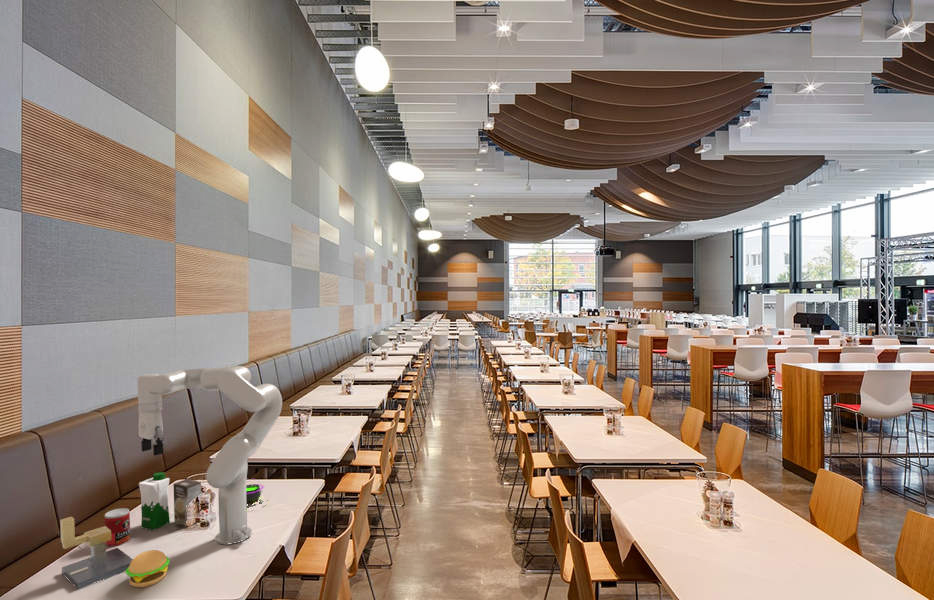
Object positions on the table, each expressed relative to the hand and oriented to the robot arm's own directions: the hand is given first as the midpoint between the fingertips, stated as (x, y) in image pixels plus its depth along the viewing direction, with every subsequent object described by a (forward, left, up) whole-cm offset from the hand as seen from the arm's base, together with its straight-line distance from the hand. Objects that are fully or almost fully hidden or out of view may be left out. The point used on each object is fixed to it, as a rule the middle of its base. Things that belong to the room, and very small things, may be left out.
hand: (152, 452), depth 192 cm
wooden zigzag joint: (-8, +24, -23) cm, 34 cm away
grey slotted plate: (-8, +21, -33) cm, 40 cm away
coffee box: (+5, -14, -33) cm, 36 cm away
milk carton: (+13, -5, -33) cm, 36 cm away
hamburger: (-28, +13, -33) cm, 45 cm away
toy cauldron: (0, -38, -33) cm, 50 cm away
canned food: (+10, +9, -33) cm, 36 cm away
